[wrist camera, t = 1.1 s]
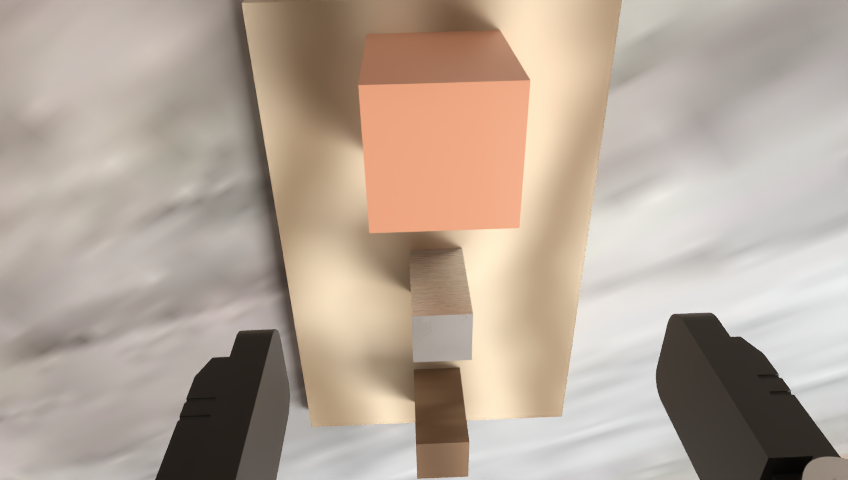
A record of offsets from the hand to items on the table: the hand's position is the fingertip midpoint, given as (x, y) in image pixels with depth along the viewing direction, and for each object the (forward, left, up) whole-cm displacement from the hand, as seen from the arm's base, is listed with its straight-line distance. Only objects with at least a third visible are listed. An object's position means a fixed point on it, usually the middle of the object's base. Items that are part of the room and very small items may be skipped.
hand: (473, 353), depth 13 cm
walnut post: (0, +17, -16) cm, 23 cm away
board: (0, +8, -17) cm, 19 cm away
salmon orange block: (0, 0, -16) cm, 16 cm away
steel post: (0, +9, -16) cm, 18 cm away
